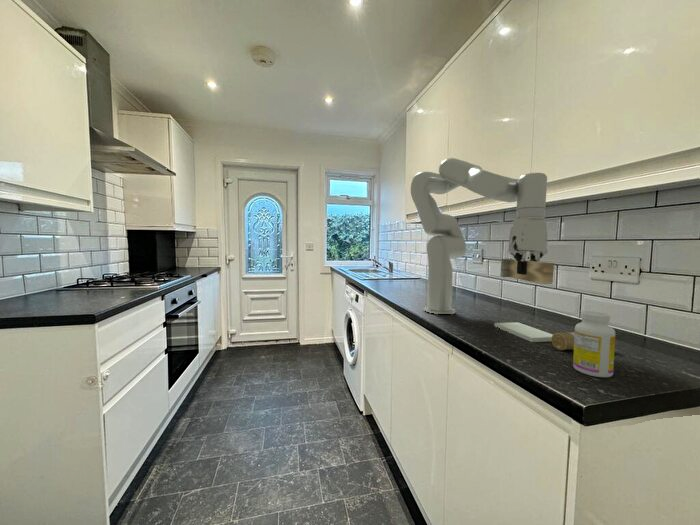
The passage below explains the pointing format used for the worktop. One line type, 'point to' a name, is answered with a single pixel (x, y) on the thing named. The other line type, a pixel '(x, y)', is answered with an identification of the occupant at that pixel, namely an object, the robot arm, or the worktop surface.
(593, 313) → the supplement bottle
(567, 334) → the sprinkles bottle
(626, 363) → the worktop surface
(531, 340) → the board
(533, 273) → the light brown wooden block
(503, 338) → the worktop surface
